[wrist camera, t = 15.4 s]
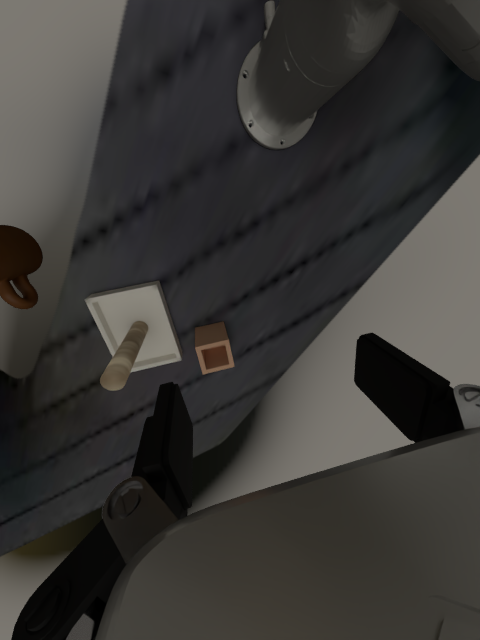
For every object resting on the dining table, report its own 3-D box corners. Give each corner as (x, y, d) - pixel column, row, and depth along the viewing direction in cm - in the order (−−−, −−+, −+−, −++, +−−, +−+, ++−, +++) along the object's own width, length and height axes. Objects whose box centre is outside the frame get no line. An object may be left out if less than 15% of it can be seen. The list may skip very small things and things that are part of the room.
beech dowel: (129, 323, 43) (96, 375, 28) (145, 319, 43) (120, 369, 29) (135, 336, 44) (105, 392, 30) (150, 333, 44) (129, 387, 30)
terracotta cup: (195, 327, 47) (195, 347, 40) (223, 321, 47) (228, 339, 40) (201, 351, 49) (203, 374, 42) (228, 345, 50) (234, 366, 43)
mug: (76, 282, 39) (44, 300, 31) (39, 303, 40) (-3, 326, 31) (16, 215, 34) (-43, 213, 26) (-26, 239, 35) (-98, 246, 26)
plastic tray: (91, 294, 41) (84, 299, 38) (159, 280, 42) (156, 284, 39) (125, 365, 47) (121, 374, 45) (182, 352, 49) (181, 360, 46)
